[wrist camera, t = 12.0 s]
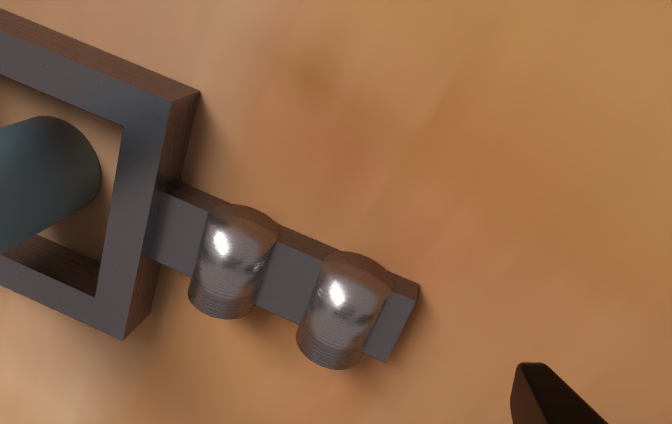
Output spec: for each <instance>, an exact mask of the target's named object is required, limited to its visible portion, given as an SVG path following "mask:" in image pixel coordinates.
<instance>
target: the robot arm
mask: <svg viewBox="0 0 672 424" xmlns="http://www.w3.org/2000/svg"><path fill="white" fill-rule="evenodd" d="M510 408H511V415H512V420H513V424H608V423H607V422H606V421H605V420H604V419H603V418H602V417H601V416H600V415H599V414H598V413H597V412H596V411H595V410H593V409H592V408H591V407H590V406H589V405H588V404H587V403H586V402H585V401H584V400H583V399H582V398H581V397H580V396H579V395H578V394H577V393H576V392H575V391H574V390H573V389H571V388H570V387H569V386H568V385H567V384H566V383H565V382H564V381H563V380H562V379H561V378H560V377H559V376H558V375H557V374H556V373H555V372H554V371H553V370H552V369H551V368H549V367H548V366H547V365H546V364H544V363H529V362H522V363H520V364H518V366H517V368H516V372H515V377H514V382H513V387H512V392H511V397H510Z"/></svg>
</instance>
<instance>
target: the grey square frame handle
mask: <svg viewBox="0 0 672 424" xmlns="http://www.w3.org/2000/svg"><path fill="white" fill-rule="evenodd" d="M0 74H1V75H3V76H6V77H8V78H10V79H13V80H15V81H18V82H20V83H22V84H25V85H27V86H29V87H32V88H34V89H36V90H39V91H41V92H43V93H46V94H48V95H51V96H53V97H55V98H58V99H60V100H62V101H65V102H67V103H69V104H72V105H74V106H76V107H79V108H81V109H84V110H86V111H88V112H91V113H93V114H95V115H98V116H100V117H102V118H105V119H107V120H110V121H112V122H114V123H117V124H119V125H121V126H124V127H123V133H122V139H121V145H120V151H119V157H118V163H117V169H116V175H115V181H114V187H113V193H112V199H111V205H110V211H109V217H108V223H107V229H106V235H105V241H104V247H103V253H102V259H101V263H99V262H96V261H94V260H92V259H90V258H87V257H85V256H83V255H81V254H79V253H76V252H74V251H72V250H70V249H67V248H65V247H63V246H61V245H58V244H56V243H54V242H52V241H49V240H47V239H45V238H43V237H41V236H38V235H34V236H32V237H31V238H29V239H27V240H25V241H24V242H22V243H20V244H18V245H17V246H15V247H13V248H11V249H10V250H8V251H6V252H4V253H3V254H1V255H0V285H2V286H4V287H6V288H8V289H10V290H13V291H15V292H17V293H19V294H21V295H24V296H26V297H28V298H30V299H32V300H34V301H37V302H39V303H41V304H43V305H45V306H48V307H50V308H52V309H54V310H56V311H58V312H61V313H63V314H65V315H67V316H69V317H72V318H74V319H76V320H78V321H80V322H82V323H85V324H87V325H89V326H91V327H93V328H96V329H98V330H100V331H102V332H104V333H106V334H109V335H111V336H113V337H115V338H117V339H120V340H122V341H123V340H124V339H125V338H126V337H127V336H128V335H129V334H130V333H131V332H132V331H133V330H134V329H135V328H136V327H137V326H138V325H139V324H140V323H141V322H142V321H143V320H144V319H145V318H146V317H147V316H148V315H149V313H150V308H151V304H152V299H153V295H154V291H155V286H156V282H157V277H158V273H159V268H160V264H164V265H166V266H168V267H170V268H173V269H175V270H177V271H180V272H182V273H184V274H186V275H189V276H191V280H190V284H189V288H188V297H189V300H190V302H191V303H192V304H193V306H195V307H196V308H197V309H198V310H199V311H201V312H202V313H204V314H206V315H209V316H211V317H215V318H219V319H229V320H230V319H238V318H242V317H244V316H246V315H248V314H249V313H250V312H251V311H252V310H253V308H254V305H256V306H259V307H261V308H263V309H265V310H268V311H270V312H272V313H274V314H277V315H279V316H281V317H283V318H286V319H288V320H290V321H292V322H295V323H297V324H299V327H298V330H297V332H296V342H297V345H298V347H299V349H300V350H301V352H302V353H303V354H304V355H305V356H306V357H307V358H308V359H310V360H311V361H313V362H314V363H316V364H318V365H320V366H323V367H326V368H329V369H335V370H343V369H348V368H351V367H353V366H354V365H356V364H357V363H358V361H359V360H360V357H361V355H362V353H365V354H367V355H369V356H371V357H374V358H376V359H378V360H380V361H383V362H385V363H386V361H387V359H388V357H389V355H390V353H391V351H392V349H393V347H394V345H395V343H396V341H397V339H398V337H399V335H400V333H401V331H402V329H403V327H404V325H405V323H406V321H407V319H408V317H409V315H410V313H411V311H412V309H413V307H414V305H415V303H416V299H417V294H418V290H419V284H417V283H414V282H412V281H410V280H407V279H405V278H403V277H400V276H398V275H396V274H393V273H391V272H389V271H386V270H385V269H384V268H383V267H382V266H381V265H379V264H378V263H377V262H375V261H373V260H372V259H370V258H368V257H366V256H363V255H360V254H357V253H353V252H346V251H340V250H337V249H335V248H333V247H330V246H328V245H326V244H323V243H321V242H319V241H316V240H314V239H312V238H309V237H307V236H305V235H302V234H300V233H298V232H295V231H293V230H291V229H288V228H286V227H284V226H281V225H279V224H277V223H275V222H274V221H273V220H272V219H271V218H270V217H268V216H267V215H265V214H264V213H262V212H260V211H258V210H256V209H253V208H250V207H247V206H242V205H236V204H230V203H228V202H225V201H223V200H221V199H218V198H216V197H214V196H211V195H209V194H207V193H204V192H202V191H200V190H197V189H195V188H193V187H190V186H188V185H186V184H183V183H181V182H179V180H180V176H181V171H182V167H183V162H184V158H185V153H186V149H187V145H188V140H189V136H190V131H191V127H192V122H193V118H194V114H195V109H196V105H197V100H198V96H199V90H196V89H194V88H192V87H189V86H187V85H184V84H182V83H179V82H177V81H175V80H172V79H170V78H167V77H165V76H162V75H160V74H158V73H155V72H153V71H150V70H148V69H146V68H143V67H141V66H138V65H136V64H133V63H131V62H129V61H126V60H124V59H121V58H119V57H116V56H114V55H112V54H109V53H107V52H104V51H102V50H100V49H97V48H95V47H92V46H90V45H87V44H85V43H83V42H80V41H78V40H75V39H73V38H70V37H68V36H66V35H63V34H61V33H58V32H56V31H54V30H51V29H49V28H46V27H44V26H41V25H39V24H37V23H34V22H32V21H29V20H27V19H24V18H22V17H20V16H17V15H15V14H12V13H10V12H8V11H5V10H3V9H0Z"/></svg>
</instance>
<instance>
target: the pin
mask: <svg viewBox="0 0 672 424" xmlns="http://www.w3.org/2000/svg"><path fill="white" fill-rule="evenodd" d="M100 180H101V173H100V166H99V162H98V159H97V156H96V154H95V151H94V150H93V148H92V146H91V144H90V143H89V142H88V140H87V139H86V138H85V136H84V135H83V134H82V133H81V132H80V131H79V130H78V129H76V128H75V127H74V126H73V125H71V124H69V123H68V122H66V121H64V120H62V119H59V118H56V117H52V116H37V117H34V118H30V119H27V120H24V121H21V122H17V123H14V124H11V125H8V126H4V127H1V128H0V255H1V254H3V253H4V252H6V251H8V250H10V249H11V248H13V247H15V246H17V245H18V244H20V243H22V242H24V241H25V240H27V239H29V238H31V237H32V236H34V235H36V234H38V233H39V232H41V231H43V230H45V229H46V228H48V227H50V226H52V225H53V224H55V223H57V222H59V221H60V220H62V219H64V218H65V217H67V216H69V215H71V214H72V213H74V212H76V211H78V210H79V209H81V208H83V207H85V206H86V205H88V204H89V203H90V202H91V201H92V200H93V199H94V198H95V196H96V194H97V193H98V190H99V187H100Z"/></svg>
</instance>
